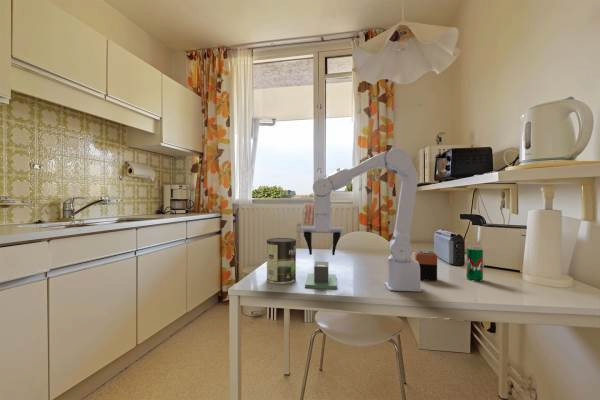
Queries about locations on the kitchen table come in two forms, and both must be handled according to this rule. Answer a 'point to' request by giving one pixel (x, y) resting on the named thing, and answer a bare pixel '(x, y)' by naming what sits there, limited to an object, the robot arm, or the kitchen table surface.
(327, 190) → the robot arm
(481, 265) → the soda can
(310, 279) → the header board
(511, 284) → the kitchen table surface
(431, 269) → the battery
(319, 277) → the block
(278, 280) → the coffee can
